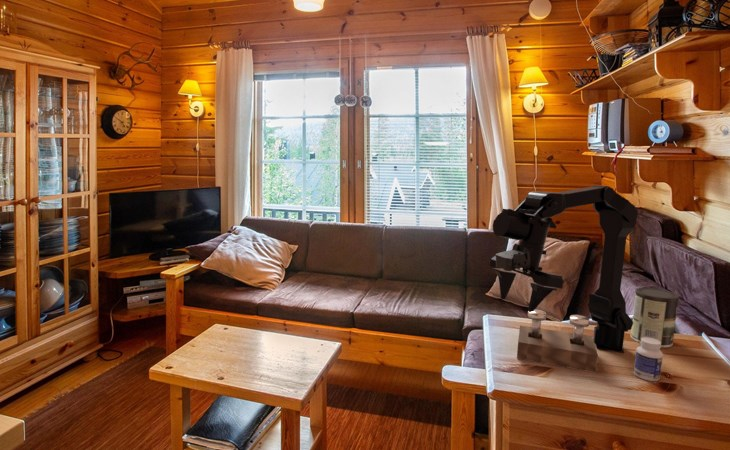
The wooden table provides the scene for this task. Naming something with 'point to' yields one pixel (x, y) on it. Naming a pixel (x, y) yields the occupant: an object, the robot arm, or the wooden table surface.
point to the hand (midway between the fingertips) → (516, 305)
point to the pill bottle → (648, 359)
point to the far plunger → (536, 321)
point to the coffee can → (654, 315)
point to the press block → (557, 349)
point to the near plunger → (578, 326)
